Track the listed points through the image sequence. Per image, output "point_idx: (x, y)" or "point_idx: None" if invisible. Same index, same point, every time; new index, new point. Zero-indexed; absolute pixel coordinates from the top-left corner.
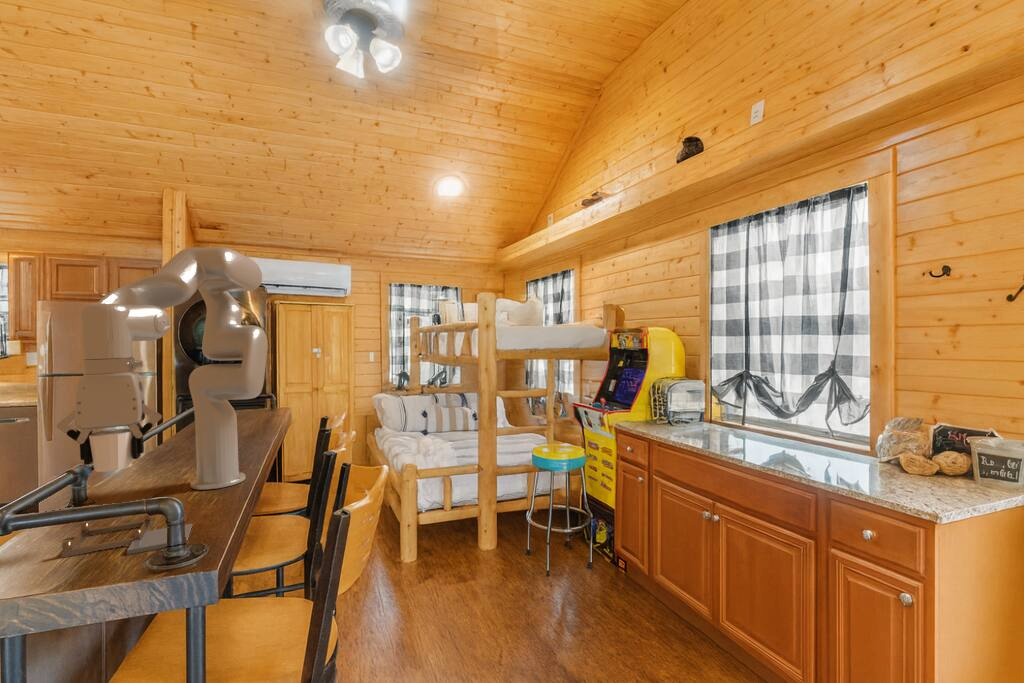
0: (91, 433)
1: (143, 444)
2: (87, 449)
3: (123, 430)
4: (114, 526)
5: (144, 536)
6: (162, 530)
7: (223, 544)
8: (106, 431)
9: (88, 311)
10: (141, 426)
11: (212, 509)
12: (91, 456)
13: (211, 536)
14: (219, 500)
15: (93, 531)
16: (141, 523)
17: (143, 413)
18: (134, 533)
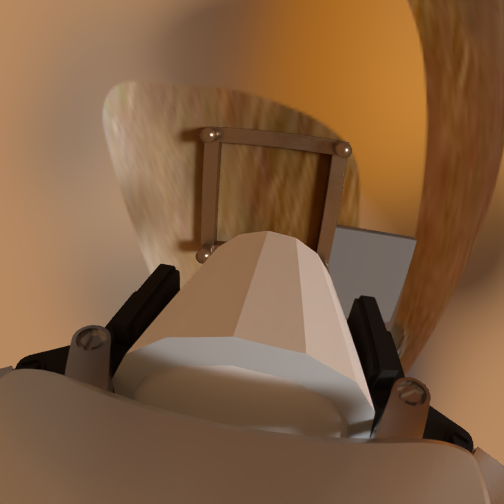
0: (111, 382)
1: (396, 353)
2: None
3: (307, 418)
4: (271, 145)
5: (332, 258)
6: (365, 245)
7: (421, 347)
8: (183, 378)
9: None
10: (418, 437)
11: (460, 134)
12: None
13: (422, 307)
14: (473, 73)
15: (230, 142)
16: (326, 153)
17: (483, 488)
18: None
